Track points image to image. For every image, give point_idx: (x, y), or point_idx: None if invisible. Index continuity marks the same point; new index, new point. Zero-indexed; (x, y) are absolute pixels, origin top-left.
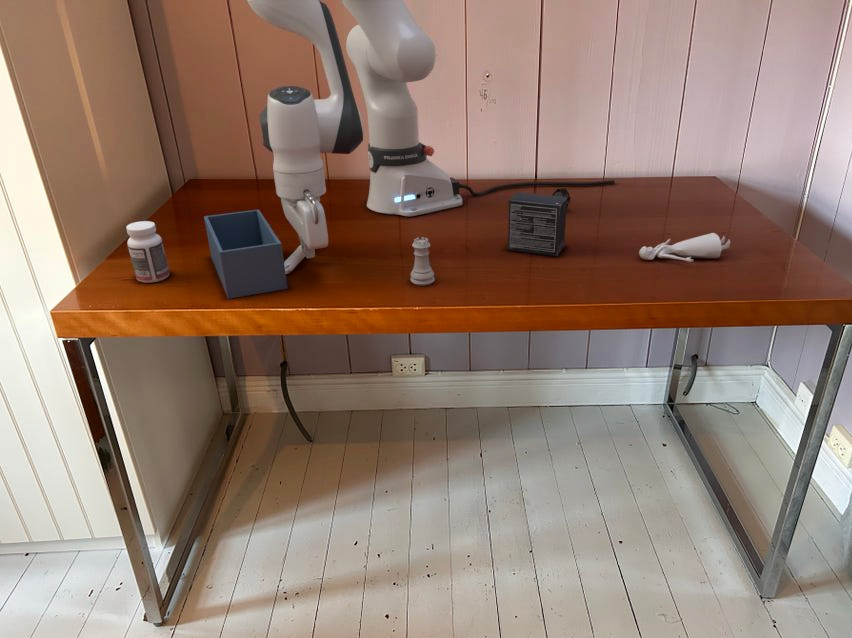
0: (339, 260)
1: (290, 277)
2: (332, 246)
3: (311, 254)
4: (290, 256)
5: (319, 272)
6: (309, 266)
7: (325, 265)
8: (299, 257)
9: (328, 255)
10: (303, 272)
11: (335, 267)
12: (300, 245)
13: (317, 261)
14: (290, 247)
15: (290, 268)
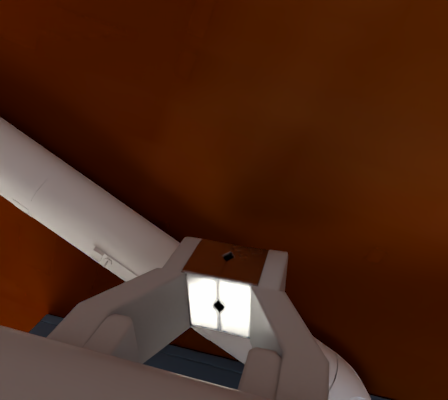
0: (282, 48)
1: (385, 366)
2: (20, 18)
3: (283, 281)
4: (238, 357)
5: (420, 240)
6: (289, 248)
7: (324, 169)
8: None
9: (163, 94)
10: (358, 302)
11: (403, 121)
12: (84, 252)
13: (234, 187)
14: (19, 227)
15: (355, 383)
